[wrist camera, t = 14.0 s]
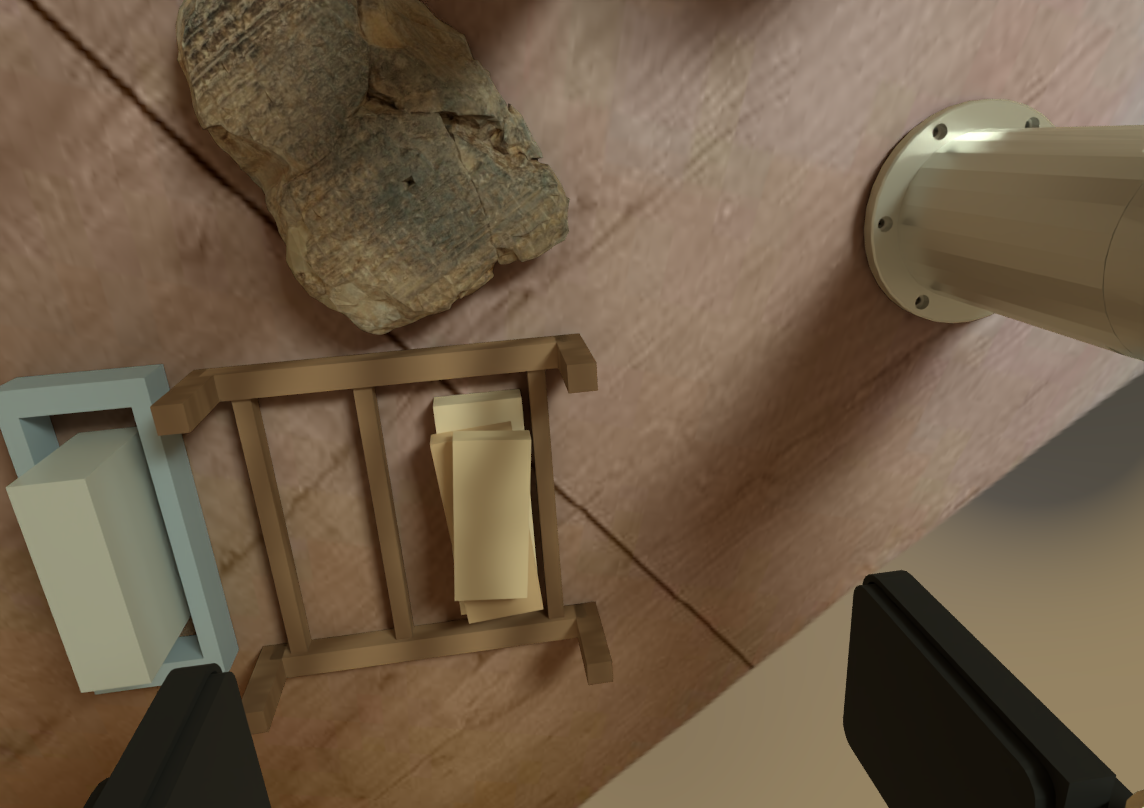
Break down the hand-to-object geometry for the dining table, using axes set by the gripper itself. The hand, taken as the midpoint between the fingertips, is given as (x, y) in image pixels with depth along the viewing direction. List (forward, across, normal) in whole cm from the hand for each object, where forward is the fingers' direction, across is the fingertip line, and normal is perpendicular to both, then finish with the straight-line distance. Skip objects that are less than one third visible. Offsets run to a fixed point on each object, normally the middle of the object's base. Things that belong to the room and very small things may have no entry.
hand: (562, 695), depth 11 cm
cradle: (+32, +22, +12) cm, 41 cm away
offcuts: (+32, +2, +13) cm, 35 cm away
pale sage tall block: (+32, +22, +12) cm, 41 cm away
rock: (+33, +6, -9) cm, 34 cm away
